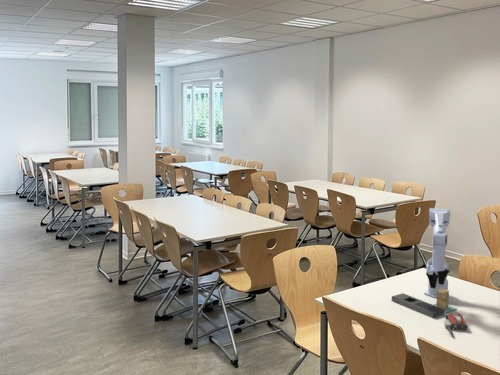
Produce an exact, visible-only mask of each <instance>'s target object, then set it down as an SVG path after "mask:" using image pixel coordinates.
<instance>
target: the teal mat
mask: <svg viewBox="0 0 500 375" xmlns="http://www.w3.org/2000/svg"><path fill="white" fill-rule="evenodd" d="M432 305H435V306H436V303H434V304H432ZM456 310H457V308H456V307H453V306H451V305H448V308H446V309H445V314H446V313H447V314H448V313H451V312H452V311H456Z"/></svg>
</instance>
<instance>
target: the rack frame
mask: <svg viewBox="0 0 500 375" xmlns="http://www.w3.org/2000/svg"><path fill="white" fill-rule="evenodd" d="M391 302H393V303H396V304H399V305H401V306H404V307H406V308H407V309H411V310H412V311H416V312H418V313H419V314H423V315H425V316H428V317H430V318H432V319H434V318H437V317H439V316H443V315H445V314H446V313H445V309H442V308H440V307H437V306H435V305H433V304H432V303H430V302H427V301H424V300H422V299H419V298H416V297H413V296H411V295H409V294H407V293H406V294H405V293H403V292H402V293H399V294H396V295H392V296H391Z"/></svg>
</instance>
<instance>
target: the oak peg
mask: <svg viewBox="0 0 500 375" xmlns="http://www.w3.org/2000/svg"><path fill="white" fill-rule="evenodd" d="M449 296H450V291H449V289H448V290H443V289H439V290H438V291H437V298H436V303H435V304H436V306H437V307H440V308H442V309H446V308H448V306H449Z"/></svg>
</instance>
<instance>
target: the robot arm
mask: <svg viewBox="0 0 500 375" xmlns="http://www.w3.org/2000/svg"><path fill="white" fill-rule="evenodd" d="M428 212H429V214H428V215H429V216H428V223H429V225H430V227H432V228H433V233H432V238H431V243H432V253H431V254H432V255H431V258H429V259H428V260H427V262H426V272H425V273H426V274H425V275H426V277H427V279H428V284H427V285H428V286H427V291H425V292H423V294H424V295H427V296H429V297H432V298H435V299H437V291H438V290H439V289H443V290H448V291H449V281H448V274H449V273H450V270H449V269H448V268H449V264H448V262H447V260H446V255H447V254H446V251H447V245H448V241H449V240H448V233H447V227H449V224H450V220H451V219H450V218H451V210H450V208H436V207H435V208H433V207H430V208H429V211H428Z"/></svg>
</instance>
